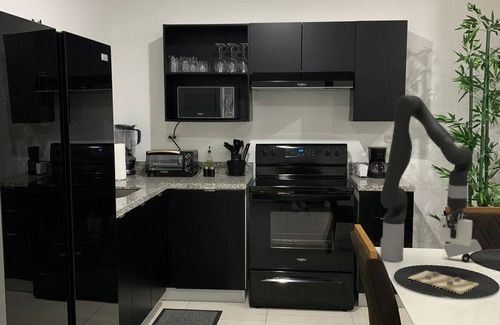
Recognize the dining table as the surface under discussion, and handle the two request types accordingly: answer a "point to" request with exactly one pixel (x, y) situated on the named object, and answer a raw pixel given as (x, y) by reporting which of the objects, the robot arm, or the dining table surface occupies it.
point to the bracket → (462, 249)
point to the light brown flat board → (444, 281)
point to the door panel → (457, 232)
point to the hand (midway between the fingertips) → (455, 237)
